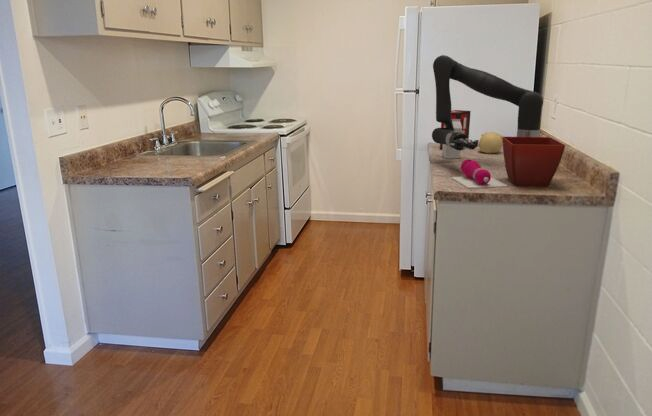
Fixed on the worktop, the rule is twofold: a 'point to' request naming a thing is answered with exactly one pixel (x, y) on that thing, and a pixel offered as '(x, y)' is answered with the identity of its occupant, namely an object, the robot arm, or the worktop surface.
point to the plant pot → (531, 159)
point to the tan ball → (490, 142)
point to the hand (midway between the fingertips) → (473, 146)
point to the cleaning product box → (464, 120)
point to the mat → (473, 184)
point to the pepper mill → (475, 172)
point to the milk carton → (447, 150)
